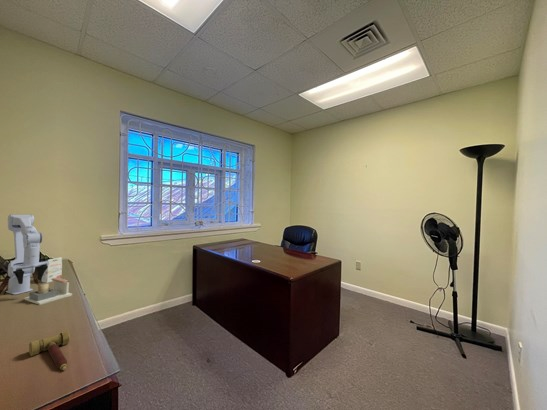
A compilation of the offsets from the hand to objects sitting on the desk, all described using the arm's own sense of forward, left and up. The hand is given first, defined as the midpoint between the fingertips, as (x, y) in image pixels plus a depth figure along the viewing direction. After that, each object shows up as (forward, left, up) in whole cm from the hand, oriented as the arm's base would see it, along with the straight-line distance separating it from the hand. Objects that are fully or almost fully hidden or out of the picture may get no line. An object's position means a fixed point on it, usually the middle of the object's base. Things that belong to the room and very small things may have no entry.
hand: (30, 281), depth 123 cm
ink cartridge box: (-25, +21, -10) cm, 34 cm away
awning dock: (+6, +5, -9) cm, 12 cm away
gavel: (+67, -22, -10) cm, 71 cm away
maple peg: (+6, +3, -8) cm, 11 cm away
